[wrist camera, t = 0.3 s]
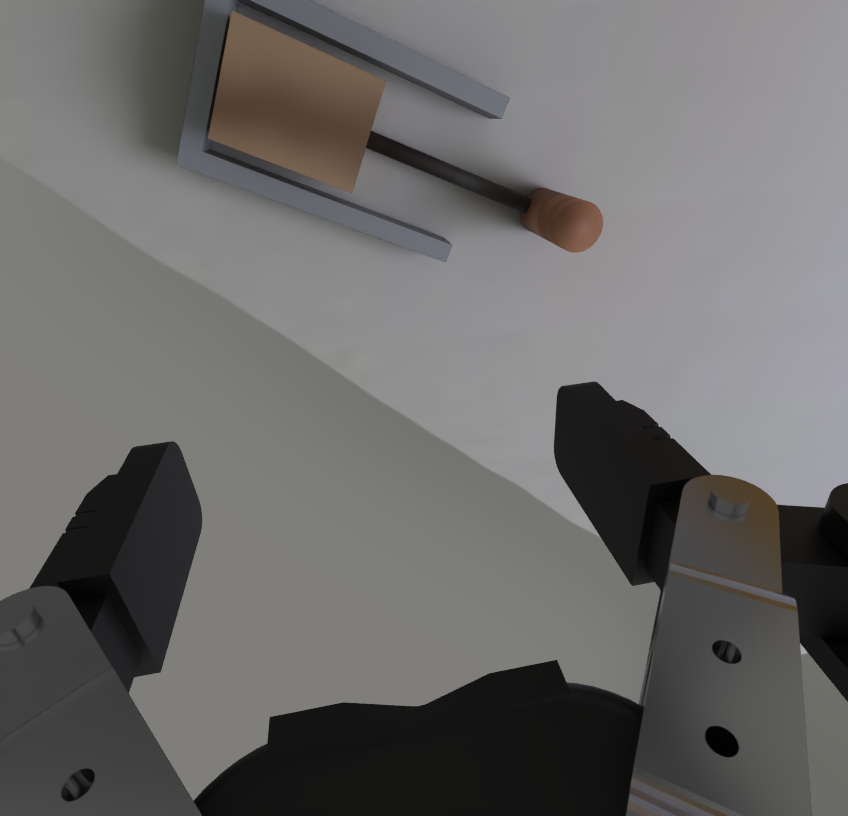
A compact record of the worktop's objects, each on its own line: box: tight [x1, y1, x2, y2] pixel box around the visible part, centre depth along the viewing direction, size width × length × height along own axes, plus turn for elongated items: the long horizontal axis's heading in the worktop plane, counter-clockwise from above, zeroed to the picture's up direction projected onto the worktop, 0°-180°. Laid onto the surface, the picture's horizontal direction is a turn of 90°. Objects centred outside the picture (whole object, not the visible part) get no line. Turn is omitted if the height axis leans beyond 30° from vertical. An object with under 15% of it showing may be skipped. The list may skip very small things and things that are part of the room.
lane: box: [176, 0, 510, 262], centre depth 33 cm, size 10×17×2 cm, turn 68°
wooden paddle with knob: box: [208, 11, 603, 252], centre depth 32 cm, size 6×23×7 cm, turn 69°
